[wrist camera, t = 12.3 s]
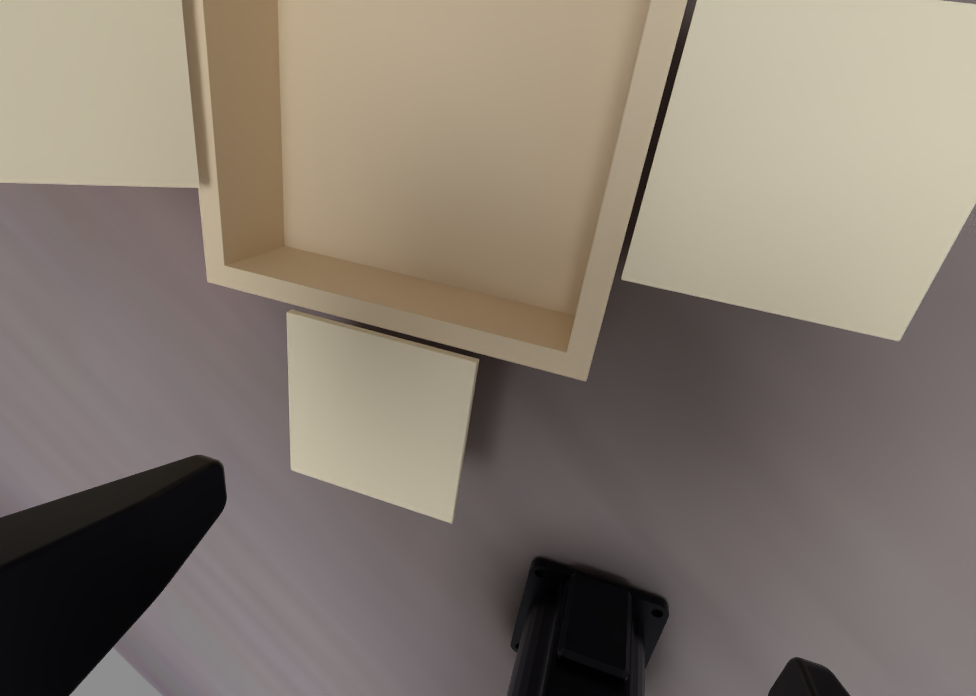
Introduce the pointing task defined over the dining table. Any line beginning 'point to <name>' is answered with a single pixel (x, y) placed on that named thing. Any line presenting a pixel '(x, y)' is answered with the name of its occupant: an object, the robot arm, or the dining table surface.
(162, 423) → the dining table surface
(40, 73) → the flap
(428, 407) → the carton
